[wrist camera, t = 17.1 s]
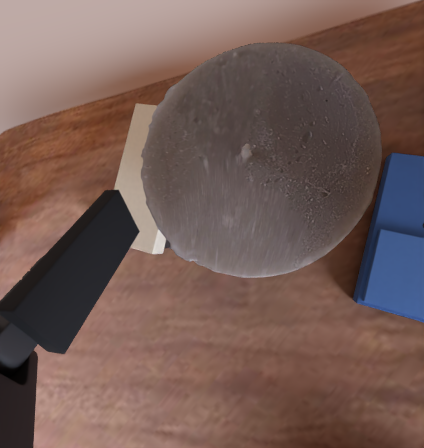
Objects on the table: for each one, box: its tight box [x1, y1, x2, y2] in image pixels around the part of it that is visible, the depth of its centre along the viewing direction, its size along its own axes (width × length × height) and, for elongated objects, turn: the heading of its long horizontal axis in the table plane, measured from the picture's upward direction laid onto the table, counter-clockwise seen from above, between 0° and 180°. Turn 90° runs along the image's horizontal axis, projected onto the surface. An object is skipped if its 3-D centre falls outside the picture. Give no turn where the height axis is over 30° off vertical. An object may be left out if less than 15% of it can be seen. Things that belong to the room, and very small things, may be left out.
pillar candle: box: [141, 43, 382, 278], centre depth 16 cm, size 10×10×15 cm
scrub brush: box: [114, 104, 170, 254], centre depth 24 cm, size 6×13×4 cm, turn 166°
